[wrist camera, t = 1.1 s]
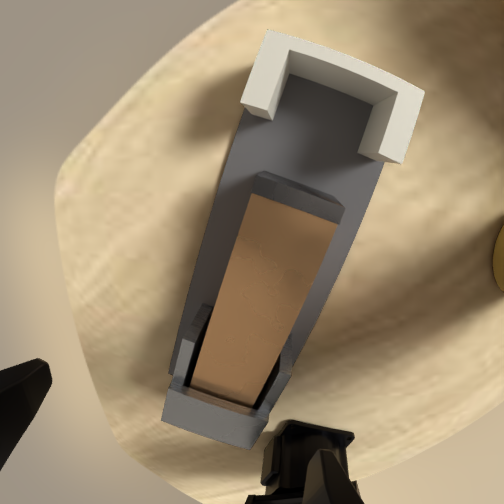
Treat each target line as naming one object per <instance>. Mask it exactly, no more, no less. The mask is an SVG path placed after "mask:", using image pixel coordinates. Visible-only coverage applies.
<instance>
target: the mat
mask: <svg viewBox="0 0 504 504" xmlns="http://www.w3.org/2000/svg"><path fill="white" fill-rule="evenodd" d="M372 108H373V105H371V104H369V103H367V102H365V101H362V100H360V99H358V98H355V97H353V96H350V95H348V94H346V93H343V92H341V91H338V90H335V89H333V88H330V87H328V86H325V85H322V84H319V83H317V82H314V81H311V80H308V79H305V78H302V77H299V76H296V75H293V74H290V73H289V76H288V79H287V82H286V84H285V87H284V90H283V93H282V96H281V98H280V101H279V104H278V107H277V110H276V113H275V115H274V118H273V121H271V120H268V119H265V118H262V117H259V116H256V115H252V114H251V113H250V112H249V111H248V110H247V109H246V108H245V109H244V112H243V115H242V118H241V120H240V123H239V126H238V129H237V132H236V135H235V138H234V141H233V144H232V147H231V150H230V153H229V156H228V159H227V162H226V166H225V169H224V172H223V175H222V178H221V181H220V184H219V188H218V191H217V194H216V197H215V201H214V204H213V207H212V211H211V214H210V217H209V221H208V224H207V227H206V231H205V234H204V238H203V241H202V245H201V248H200V252H199V255H198V259H197V262H196V266H195V269H194V273H193V277H192V280H191V284H190V288H189V292H188V295H187V299H186V303H185V307H184V311H183V315H182V319H181V322H180V326H179V330H178V334H177V339H176V343H175V347H174V351H173V355H172V359H171V364H170V368H169V372H168V374H171V375H174V371H175V366H176V363H177V359H178V355H179V351H180V347H181V343H182V339H183V337H184V335H185V333H186V332H187V330H188V328H189V326H190V324H191V323H192V321H193V319H194V317H195V316H196V314H197V312H198V310H199V308H200V307H201V305H202V303H205V304H208V305H211V306H213V307H212V311H211V314H210V317H209V320H208V323H207V326H206V330H205V333H204V336H203V339H202V343H201V346H200V349H199V352H198V356H197V359H196V362H195V365H194V369H193V372H192V373H194V370H195V367H196V364H197V361H198V358H199V354H200V351H201V348H202V345H203V341H204V338H205V335H206V332H207V329H208V326H209V322H210V319H211V316H212V313H213V310H214V307H215V303H216V300H217V297H218V294H219V291H220V288H221V285H222V282H223V279H224V275H225V272H226V269H227V266H228V263H229V260H230V257H231V254H232V251H233V248H234V245H235V242H236V239H237V236H238V233H239V230H240V227H241V224H242V221H243V218H244V215H245V212H246V209H247V206H248V203H249V200H250V197H251V194H252V193H251V190H252V187H253V184H254V181H255V178H256V175H257V174H259V173H260V172H262V171H263V170H265V171H267V172H270V173H273V174H276V175H279V176H282V177H285V178H287V179H290V180H293V181H296V182H298V183H301V184H304V185H306V186H309V187H312V188H314V189H317V190H320V191H322V192H325V193H327V194H330V195H333V196H334V197H335V198H336V199H337V200H338V201H339V202H340V203H341V204H342V205H343V206H344V207H345V208H346V209H345V211H344V214H343V216H342V219H341V221H340V224H339V225H337V228H336V230H335V233H334V235H333V237H332V240H331V242H330V245H329V247H328V249H327V252H326V254H325V256H324V259H323V261H322V263H321V266H320V268H319V270H318V273H317V275H316V277H315V279H314V282H313V284H312V286H311V288H310V291H309V293H308V295H307V297H306V300H305V302H304V304H303V306H302V308H301V310H300V313H299V315H298V317H297V319H296V321H295V323H294V325H293V327H292V330H291V332H290V333H292V367H293V365H294V363H295V361H296V359H297V357H298V356H299V354H300V352H301V350H302V348H303V346H304V344H305V342H306V340H307V338H308V336H309V334H310V333H311V331H312V329H313V327H314V325H315V323H316V321H317V319H318V317H319V315H320V313H321V311H322V309H323V306H324V304H325V302H326V300H327V298H328V296H329V294H330V292H331V290H332V288H333V285H334V283H335V281H336V279H337V277H338V275H339V272H340V270H341V268H342V266H343V264H344V261H345V259H346V257H347V255H348V252H349V250H350V248H351V245H352V243H353V241H354V238H355V236H356V234H357V231H358V229H359V227H360V224H361V222H362V219H363V217H364V214H365V212H366V209H367V207H368V204H369V202H370V199H371V197H372V194H373V192H374V189H375V186H376V184H377V181H378V179H379V176H380V173H381V170H382V168H383V165H384V162H381V161H375V160H373V159H371V158H369V157H366V156H364V155H362V154H359V153H357V152H358V149H359V146H360V143H361V140H362V138H363V135H364V132H365V129H366V126H367V123H368V120H369V117H370V114H371V111H372Z"/></svg>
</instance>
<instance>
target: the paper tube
mask: <svg viewBox="0 0 504 504" xmlns="http://www.w3.org/2000/svg"><path fill="white" fill-rule="evenodd" d="M493 270H494V276H495V280H496V282H497V284H498V286H499V288H500V289H501V290H502V291H503V292H504V225H503V227H502V228H501V230H500V232H499V235H498V237H497V240H496V244H495V248H494V253H493Z"/></svg>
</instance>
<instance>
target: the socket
mask: <svg viewBox="0 0 504 504" xmlns="http://www.w3.org/2000/svg"><path fill="white" fill-rule="evenodd" d="M289 73H290V74H293V75H296V76H299V77H302V78H305V79H308V80H311V81H314V82H317V83H319V84H322V85H325V86H328V87H330V88H333V89H335V90H338V91H341V92H343V93H346V94H348V95H350V96H353V97H355V98H358V99H360V100H362V101H365V102H367V103H369V104H371V105H373V108H372V111H371V114H370V117H369V120H368V123H367V126H366V129H365V132H364V135H363V138H362V140H361V143H360V146H359V149H358V152H357V153H359V154H362V155H364V156H366V157H369V158H371V159H373V160H375V161H381V162H389V163H397V164H402V163H403V160H404V157H405V154H406V151H407V148H408V145H409V142H410V139H411V136H412V133H413V130H414V127H415V124H416V120H417V117H418V114H419V111H420V107H421V104H422V100H423V97H424V93H425V91H423V90H422V89H420V88H418V87H416V86H414V85H412V84H410V83H408V82H406V81H405V80H403V79H401V78H399V77H397V76H395V75H392V74H390V73H388V72H386V71H384V70H382V69H380V68H377V67H375V66H373V65H371V64H368V63H366V62H364V61H361V60H359V59H357V58H354V57H352V56H349V55H347V54H344V53H341V52H339V51H336V50H333V49H331V48H328V47H325V46H322V45H319V44H316V43H313V42H310V41H307V40H304V39H301V38H297V37H294V36H291V35H287V34H284V33H280V32H276V31H272V30H268V29H267V31H266V34H265V36H264V39H263V42H262V44H261V47H260V49H259V52H258V54H257V57H256V60H255V62H254V65H253V68H252V70H251V73H250V76H249V79H248V81H247V84H246V87H245V90H244V92H243V95H242V98H241V101H240V103H241V104H242V105H243V106H244V107H245V108H246V109H247V110H248V111H249V112H250V113H251V114H252V115H256V116H259V117H262V118H265V119H268V120H271V121H273V118H274V115H275V113H276V110H277V107H278V104H279V101H280V98H281V96H282V93H283V90H284V87H285V84H286V82H287V79H288V76H289Z"/></svg>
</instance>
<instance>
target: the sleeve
mask: <svg viewBox="0 0 504 504" xmlns="http://www.w3.org/2000/svg"><path fill="white" fill-rule="evenodd" d="M212 307H213V306H211V305H208V304H205V303H202V305H201V307H200V308H199V310H198V312H197V314H196V316H195V317H194V319H193V321H192V323H191V324H190V326H189V328H188V330H187V332H186V333H185V335H184V337H183V339H182V343H181V347H180V351H179V355H178V359H177V363H176V366H175V371H174V375H173V379H172V382H171V384H170V386H169V388H168V392H167V396H166V400H165V405H164V409H163V414H162V418H161V421H163V422H166V423H169V424H171V425H174V426H176V427H179V428H182V429H184V430H187V431H190V432H193V433H196V434H198V435H201V436H204V437H207V438H210V439H214V440H217V441H220V442H223V443H227V444H230V445H233V446H237V447H240V448H244V449H248V450H250V449H251V448H252V446H253V445H254V443H255V442H256V440H257V439H258V437H259V436H260V434H261V432H262V431H263V429H264V428H265V426H266V425H267V423H268V420H269V413H270V412H271V410H272V408H273V407H274V405H275V403H276V401H277V400H278V398H279V396H280V395H281V393H282V391H283V389H284V388H285V386H286V384H287V383H288V381H289V379H290V377H291V375H292V333H290V334H289V336H288V338H287V340H286V342H285V344H284V346H283V348H282V350H281V352H280V354H279V356H278V358H277V360H276V362H275V364H274V366H273V368H272V370H271V372H270V374H269V376H268V378H267V380H266V382H265V384H264V386H263V388H262V390H261V391H260V393H259V395H258V397H257V399H256V401H255V403H254V405H253V407H252V408H248V407H244V406H241V405H238V404H235V403H232V402H229V401H225V400H222V399H219V398H216V397H214V396H211V395H208V394H205V393H202V392H199V391H197V390H194V389H191V388H189V387H190V384H191V380H192V377H193V374H194V373H192V372H193V369H194V365H195V362H196V359H197V356H198V352H199V349H200V346H201V343H202V339H203V336H204V333H205V330H206V326H207V323H208V320H209V317H210V314H211V311H212Z"/></svg>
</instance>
